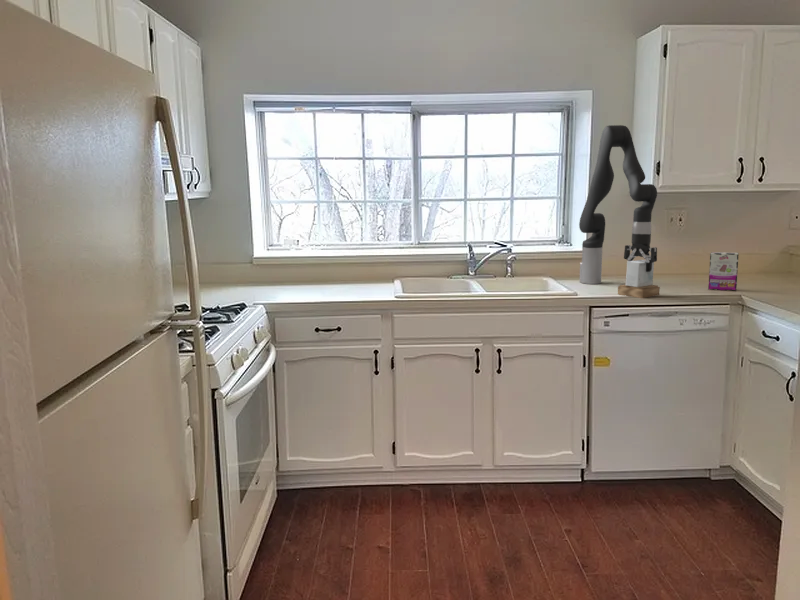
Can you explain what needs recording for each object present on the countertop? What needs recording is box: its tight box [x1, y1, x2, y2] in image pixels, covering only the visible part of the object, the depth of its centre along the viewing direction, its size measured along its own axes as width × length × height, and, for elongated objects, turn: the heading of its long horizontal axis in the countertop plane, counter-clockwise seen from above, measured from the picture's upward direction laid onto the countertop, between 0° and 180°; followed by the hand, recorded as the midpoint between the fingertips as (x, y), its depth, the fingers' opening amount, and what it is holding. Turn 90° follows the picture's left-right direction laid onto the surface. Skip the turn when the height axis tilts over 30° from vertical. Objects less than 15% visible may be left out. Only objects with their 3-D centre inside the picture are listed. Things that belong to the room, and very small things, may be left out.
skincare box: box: [625, 259, 655, 287], centre depth 268 cm, size 10×6×10 cm, turn 124°
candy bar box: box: [708, 251, 740, 291], centre depth 277 cm, size 11×5×16 cm, turn 62°
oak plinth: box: [617, 283, 661, 299], centre depth 269 cm, size 12×12×4 cm
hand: (639, 270), depth 268 cm, fingers open, 8 cm apart
